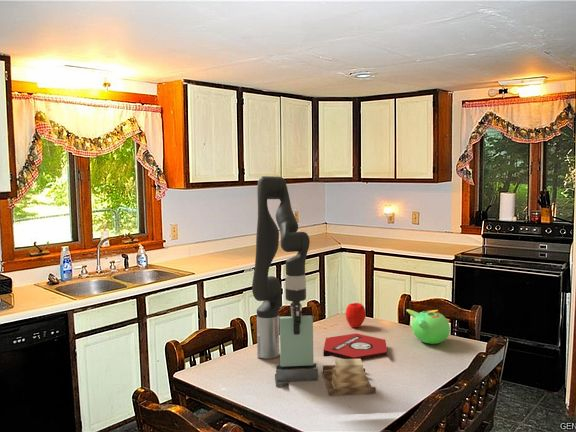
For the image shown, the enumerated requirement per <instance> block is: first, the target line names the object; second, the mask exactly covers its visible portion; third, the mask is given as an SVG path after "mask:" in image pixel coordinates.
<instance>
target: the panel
mask: <svg viewBox="0 0 576 432" xmlns="http://www.w3.org/2000/svg"><path fill="white" fill-rule="evenodd" d="M295 321H299V320H295ZM279 356H280V357H279V358H280V361H279V362H280V364H281V367H284V366H306V365H314V363H315V362H314V316H313V315H312V314H311V315H301V324H300V334H299V335H295V334H294V325H293V318H292V316H290V315H289V316H279Z"/></svg>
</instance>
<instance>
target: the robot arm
mask: <svg viewBox="0 0 576 432" xmlns="http://www.w3.org/2000/svg"><path fill="white" fill-rule="evenodd" d="M256 187H257V188H256V189H257V190H256V191H257V193H256V194H257V195H256V197H257V224H256V225H257V226H256V240H255V246H256V247H255V261H254V262H255V263H254V271H253V277H252V285H251V291H252V295H253V297H254V299H255V300H256V301H257V302H258V301H259V302H262V303H261V305H259V306H258V307H257V309H256V342H257V343H256V344H257V346H256V347H257V358H259V359H260V358H261V359H266V360H267V359H269V360H271V359H275V358H278V357H279V356H280V310H281V306H282V305H281V301H282V300H281V298H282V288H281V282H280V281H279V279H278V278H277V277H276V276H272V275H270V276H269V270H270V267H271V264H272V262H273V260H274V258H275V257H276V255H277V252H278V249H279V246H280V247H281V249H282V250H283V251H284V252H285V253H295V252H296V253H297V254H296V255H295V256H292V257H289V258H287V259H286V261H285V280H284V281H285V282H284V284H285V285H284V286H285V300H286V301H288V302H291V303H290V305H289V307H290V315H291V316H292V318H293V325H294V334H295V335H299V334H300V324H301V316H302V310H303V305H302V303H301V302H303V301H306V299H307V278H306V260H307V255H308V252H309V247H310V242H311V240H310V236H309V235H308V233H307V232H305V231H298V230H299V224H298V223H299V222H298V221H297V219H296V216H295V214H294V212H293V209H292V204H291V199H290V193H289V189H288V186H287V182H286V181H285V179H284V177H283V176H267V175H266V176H260V177H259V178H258V181H257V186H256ZM268 200H279V202H280V204H279V205H278V207H277V209H276V213H275V220H274V219H273V217H272V215H271V214H270V211H269V207H268ZM275 221H276V223H277V224H276V223H275ZM295 320H299V321H295Z"/></svg>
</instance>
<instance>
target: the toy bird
mask: <svg viewBox="0 0 576 432" xmlns="http://www.w3.org/2000/svg"><path fill="white" fill-rule="evenodd" d="M405 311H406V312H407V313H408V314H409V315H410V316H411V317H413V319H412V321H411V330H412V332H413V335H414V336H415V337H416V338H417V339H418V340H419V341H420V342H422V343H426V344H429V345H435V344H440V343H443V342H444V341H446V340H447V339H448V337H449V336H450V334H451V333H450V332H451V325H450V323H449V321H448V319H447V317H445V315H443V314H442V313H440V312H438V311H439V309H433V310H423V311H421V312H417V311H415V310H412V309H409V308H408V309H406V310H405Z"/></svg>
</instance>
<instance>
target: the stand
mask: <svg viewBox="0 0 576 432" xmlns="http://www.w3.org/2000/svg"><path fill="white" fill-rule="evenodd" d="M275 371H276V372H275V373H274V381H275V387H289V386H290V385H289V383H295V382H297V383H298V382H299V383H300V382H316V381H318V382H319V381H321V380H320V377H319V368H318V367H317V362H314V365H306V366H284V367H281V363H280V364H275Z"/></svg>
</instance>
